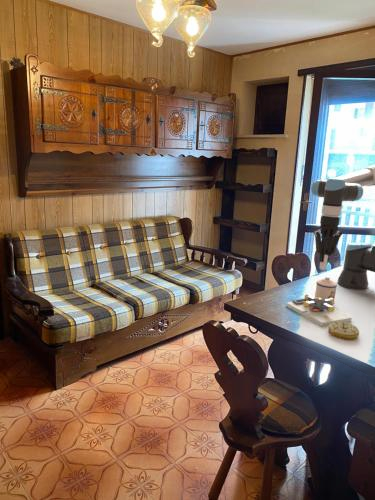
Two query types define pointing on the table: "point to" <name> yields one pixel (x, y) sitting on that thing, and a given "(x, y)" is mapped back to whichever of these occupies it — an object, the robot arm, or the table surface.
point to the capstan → (318, 304)
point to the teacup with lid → (325, 288)
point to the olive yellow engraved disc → (344, 330)
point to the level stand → (318, 313)
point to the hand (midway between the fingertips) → (322, 268)
